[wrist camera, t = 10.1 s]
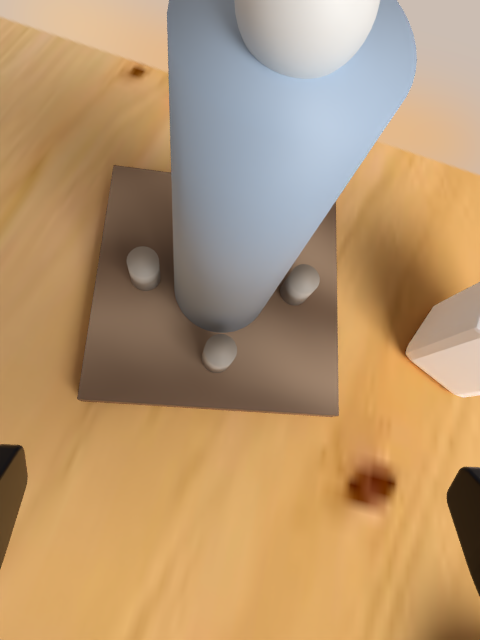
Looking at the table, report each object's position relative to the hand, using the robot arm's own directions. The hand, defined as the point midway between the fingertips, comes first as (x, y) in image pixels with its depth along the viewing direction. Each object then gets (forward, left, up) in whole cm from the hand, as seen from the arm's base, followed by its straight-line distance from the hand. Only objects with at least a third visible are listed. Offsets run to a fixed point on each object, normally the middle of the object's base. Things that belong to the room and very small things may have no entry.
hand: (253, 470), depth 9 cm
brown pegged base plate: (+4, -7, -12) cm, 14 cm away
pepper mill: (+4, -7, -11) cm, 13 cm away
